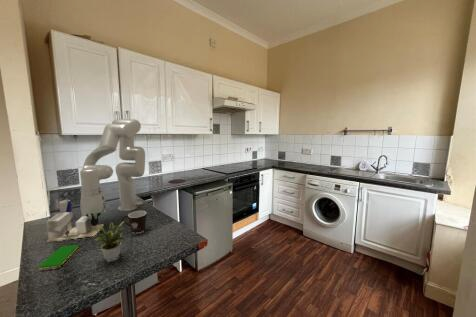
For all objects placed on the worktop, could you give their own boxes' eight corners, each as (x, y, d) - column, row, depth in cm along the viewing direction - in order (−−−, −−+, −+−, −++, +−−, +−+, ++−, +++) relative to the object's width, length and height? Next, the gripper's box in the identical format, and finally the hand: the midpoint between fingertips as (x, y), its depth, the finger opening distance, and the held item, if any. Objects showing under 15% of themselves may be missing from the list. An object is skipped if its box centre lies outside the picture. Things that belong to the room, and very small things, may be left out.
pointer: (69, 234, 101) (68, 225, 100) (67, 237, 99) (66, 227, 98) (67, 235, 101) (66, 225, 100) (65, 237, 99) (64, 227, 98)
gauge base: (103, 225, 113) (102, 209, 112) (94, 237, 102) (93, 218, 100) (61, 230, 108) (59, 212, 106) (47, 242, 96) (44, 223, 95)
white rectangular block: (92, 226, 110) (91, 215, 109) (84, 235, 101) (83, 223, 100) (83, 226, 109) (82, 216, 108) (74, 236, 100) (72, 224, 99)
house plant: (83, 275, 76) (78, 235, 73) (92, 254, 88) (88, 219, 86) (126, 265, 81) (123, 228, 79) (129, 247, 94) (126, 214, 91)
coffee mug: (151, 229, 110) (149, 212, 108) (137, 237, 102) (135, 219, 100) (136, 225, 114) (135, 208, 113) (122, 232, 107) (120, 214, 105)
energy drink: (75, 219, 121) (73, 200, 119) (65, 223, 116) (62, 203, 114) (69, 217, 122) (66, 199, 120) (59, 221, 117) (56, 202, 115)
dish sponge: (79, 249, 92) (78, 244, 92) (60, 270, 79) (59, 264, 79) (61, 251, 91) (60, 246, 91) (38, 272, 78) (37, 266, 77)
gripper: (110, 188, 109) (113, 220, 112) (78, 190, 105) (81, 223, 108) (105, 193, 102) (108, 226, 105) (70, 195, 98) (74, 230, 101)
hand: (94, 224), depth 107 cm, fingers closed
